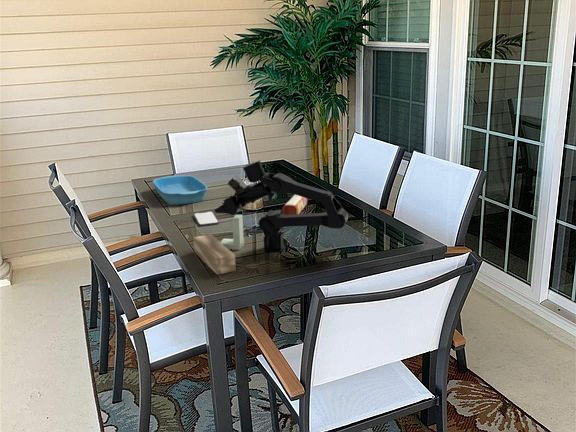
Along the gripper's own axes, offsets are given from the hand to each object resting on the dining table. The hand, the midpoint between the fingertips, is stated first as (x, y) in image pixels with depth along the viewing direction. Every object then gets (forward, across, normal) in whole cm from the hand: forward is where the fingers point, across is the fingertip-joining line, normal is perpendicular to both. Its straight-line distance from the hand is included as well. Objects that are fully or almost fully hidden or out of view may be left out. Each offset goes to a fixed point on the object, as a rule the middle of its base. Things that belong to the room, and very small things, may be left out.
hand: (219, 207), depth 216 cm
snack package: (-10, -46, +22) cm, 52 cm away
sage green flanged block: (+2, +1, +15) cm, 16 cm away
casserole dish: (+46, -60, -4) cm, 76 cm away
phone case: (+22, -27, +7) cm, 36 cm away
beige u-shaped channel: (+4, +16, +15) cm, 22 cm away
